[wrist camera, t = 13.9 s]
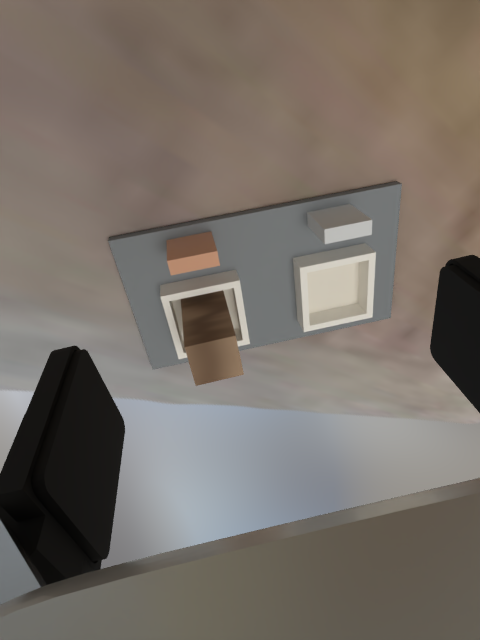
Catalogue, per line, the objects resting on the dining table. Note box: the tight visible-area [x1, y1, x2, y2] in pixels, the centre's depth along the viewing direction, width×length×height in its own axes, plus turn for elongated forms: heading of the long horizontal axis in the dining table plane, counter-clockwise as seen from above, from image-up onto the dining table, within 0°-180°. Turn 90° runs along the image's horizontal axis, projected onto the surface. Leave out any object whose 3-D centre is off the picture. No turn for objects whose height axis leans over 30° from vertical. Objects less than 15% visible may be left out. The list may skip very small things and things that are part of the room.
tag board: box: [108, 181, 402, 369], centre depth 42 cm, size 29×16×4 cm, turn 98°
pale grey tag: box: [307, 204, 372, 244], centre depth 37 cm, size 4×1×5 cm, turn 98°
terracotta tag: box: [166, 231, 220, 275], centre depth 36 cm, size 4×1×5 cm, turn 98°
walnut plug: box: [181, 290, 244, 386], centre depth 39 cm, size 4×4×9 cm
